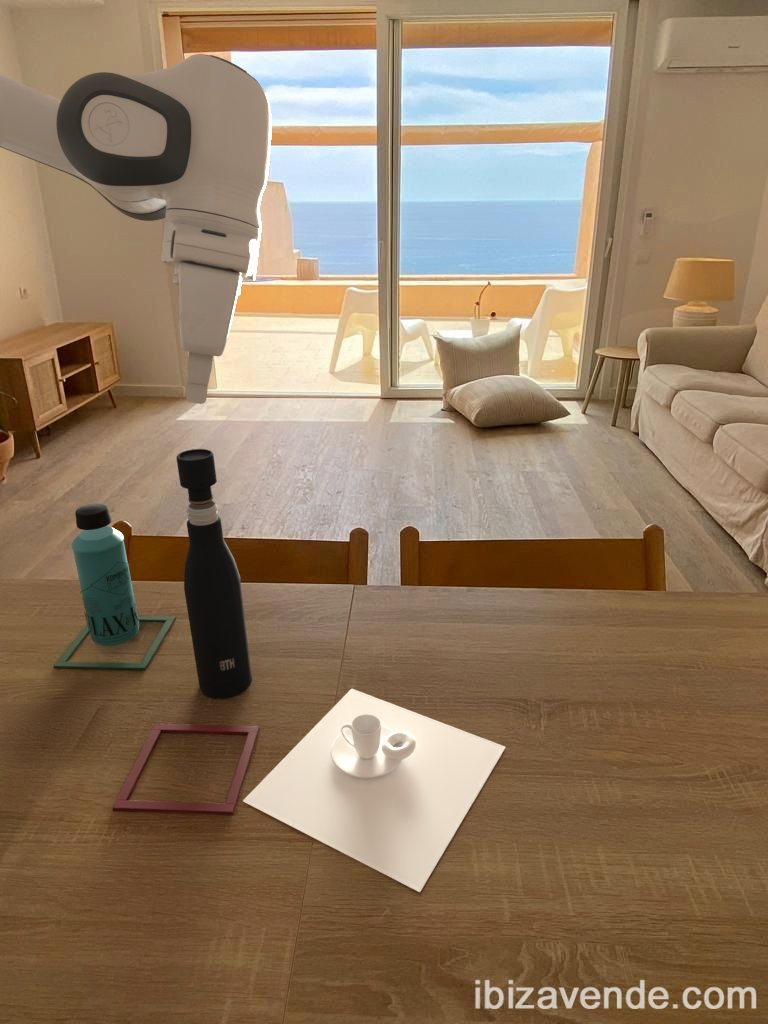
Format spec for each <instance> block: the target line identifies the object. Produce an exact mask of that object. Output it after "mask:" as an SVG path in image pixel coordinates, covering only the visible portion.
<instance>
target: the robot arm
mask: <svg viewBox="0 0 768 1024" xmlns="http://www.w3.org/2000/svg"><path fill="white" fill-rule="evenodd" d="M270 105H271V104H270V102H269V99H268V95H267V93H266V92H265V90H264V88H263V87H262V85H261V84H260V83H259V81H258V80H257V79H256V78H255V77H253V76H252V75H251V74H249V73H248V72H247V70H245V69H243V68H242V67H240V66H238V65H236V64H235V63H233V62H231V61H229V60H227V59H225V58H222V57H219V56H216V55H212V54H205V53H204V54H203V53H195V54H192V55H189V56H188V57H186V58H185V59H183V60H182V61H181V62H179V63H177V64H174V65H171V66H169V67H165V68H162V69H158V70H157V69H156V70H153V71H147V72H137V73H136V72H135V73H114V72H109V71H108V72H107V71H100V72H94V73H90V74H86V75H84V76H82V77H81V78H79V79H77V80H76V81H75V82H74V83H72V84H71V85H70V86H69V87H68V88H67V89H66V91H65V93H64V95H63V96H62V98H61V99H60V98H56V97H54V96H52V95H50V94H47V93H45V92H42V91H40V90H38V89H36V88H33V87H31V86H28V85H26V84H24V83H22V82H19V81H18V80H15V79H13V78H10V77H8V76H7V75H4V74H3V73H1V72H0V148H1V149H3V150H7V151H9V152H12V153H13V154H14V153H15V154H17V155H20V156H21V157H25V158H27V159H29V160H32V161H34V162H38V163H40V164H43V165H45V166H48V167H50V168H53V169H55V170H58V171H60V172H63V173H65V174H68V175H70V176H72V177H74V178H76V179H78V180H80V181H82V182H84V183H85V184H87V185H88V186H90V187H91V188H92V189H94V190H95V191H96V192H97V193H98V194H99V195H100V196H101V197H102V198H103V199H105V201H107V202H108V203H109V205H111V206H112V207H113V208H114V209H116V210H117V211H119V212H120V213H122V214H123V215H125V216H126V217H129V218H132V219H134V220H139V221H142V222H143V221H145V222H155V221H159V220H164V225H163V226H164V227H163V238H162V248H161V256H160V257H161V258H160V259H161V260H160V261H161V263H162V264H164V265H167V266H168V267H172V268H174V270H173V279H172V283H173V284H174V285H176V286H178V303H179V305H178V307H179V308H178V309H179V310H178V311H179V315H178V316H179V339H180V342H179V343H180V347H181V349H182V351H183V352H188V355H187V356H188V357H187V381H186V394H185V395H186V396H185V399H186V400H187V402H188V403H191V404H192V403H193V404H199V405H202V404H205V403H206V402H207V395H208V388H209V383H210V377H211V373H212V369H213V361H214V357H221V356H223V354H224V352H225V349H226V346H227V342H228V340H229V334H230V330H231V326H232V321H233V317H234V313H235V309H236V304H237V299H238V297H239V296H240V295H241V287H242V281H246V282H247V281H248V282H253V281H255V280H256V274H257V266H258V257H259V248H260V241H261V233H262V221H261V211H260V206H261V201H262V196H263V193H264V191H265V189H266V186H267V183H268V182H267V181H268V176H269V166H270V155H271V140H272V113H271V106H270Z"/></svg>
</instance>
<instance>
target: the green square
mask: <svg viewBox="0 0 768 1024" xmlns="http://www.w3.org/2000/svg"><path fill="white" fill-rule="evenodd" d="M138 616H139V617H138V619H139V620H140V621H139V622H140V623H142V622H143V623H164V624H163V625H162V627H161V629H160V630H159V632H158V633H157V635H156V637H155V639H154V640H153V641H152V643H151V644H150V646H149V648H148V649H147V651H146V653H145V654H144V656H143V658H142V660H141V661H140V662H106V661H105V662H104V661H103V662H101V661H69V660H70V658H72V656H73V655H74V653H75V652H76V650H77V649H78V648H79V647H80V645H81V644H82V643H83V642H84V640H85V639H86V638H87V637H88V635H90V632H89V631H90V629H89V630H88V627H89V625H88V626H87V624H86V625H85V626H84V627H83V628H82V629H81V631H80V632H79V633H78V634H77V636H76V637H75V638H74V639H73V641H72V642H71V643H70V645H69V646H68V647H67V649H65V651H64V652H63V654H61V655H60V657H59V659H57V661H56V662H55V664H54V665H53V668H54V669H61V670H62V669H63V670H67V669H69V670H106V671H107V670H109V671H118V670H119V671H146V670H147V668H148V667H149V665H150V664H151V662H152V660H153V658H154V657H155V656H156V653H157V651H158V650H159V648H160V646H161V645H162V643H163V641H164V640H165V638H166V636H167V635H168V633H169V631H170V630H171V628H172V626H173V624H174V623H175V621H176V619H177V616H176V615H175V616H174V615H138Z"/></svg>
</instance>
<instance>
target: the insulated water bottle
mask: <svg viewBox="0 0 768 1024" xmlns="http://www.w3.org/2000/svg"><path fill="white" fill-rule="evenodd" d="M214 455H215V454H214V452H213V451H212V450H210V449H206V448H193V449H187V450H184V451H181V452H180V453H178V454H177V455H176V465H177V472H178V478H179V485H180V486H181V487H182V488H183V489H186V490H187V494H188V495H187V496H188V500H187V501H188V505H187V509H186V513H187V519H188V520H187V521H186V529H187V536H188V542H189V545H188V550H187V554H186V558H185V563H184V577H183V589H184V590H183V591H184V597H185V603H186V604H185V605H186V610H187V615H188V622H189V629H190V635H191V640H192V641H191V642H192V648H193V654H194V661H195V666H196V667H195V668H196V674H197V680H198V686H199V691H201V693H202V694H203V695H204V696H206V697H208V698H211V699H214V700H226V699H231V698H234V697H236V696H239V695H241V694H243V693H244V692H245V691H247V689H248V688H249V687H250V686H251V685H252V682H253V677H252V675H253V674H252V668H251V660H250V652H249V651H250V650H249V642H248V634H247V625H246V617H245V615H246V614H245V609H244V608H245V607H244V599H243V589H242V583H241V575H240V573H239V569H238V566H237V563H236V561H235V558H234V556H233V553H232V552H231V550H230V548H229V546H228V545H227V543H226V541H225V539H224V531H223V522H222V518H221V517H220V516H219V515H220V514H219V511H218V510H219V507H218V505H217V504H216V503H217V502H216V501H215V500H214V495H213V490H212V486H214V485H215V484H216V483H217V482H218V479H217V471H216V464H215V456H214Z"/></svg>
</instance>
